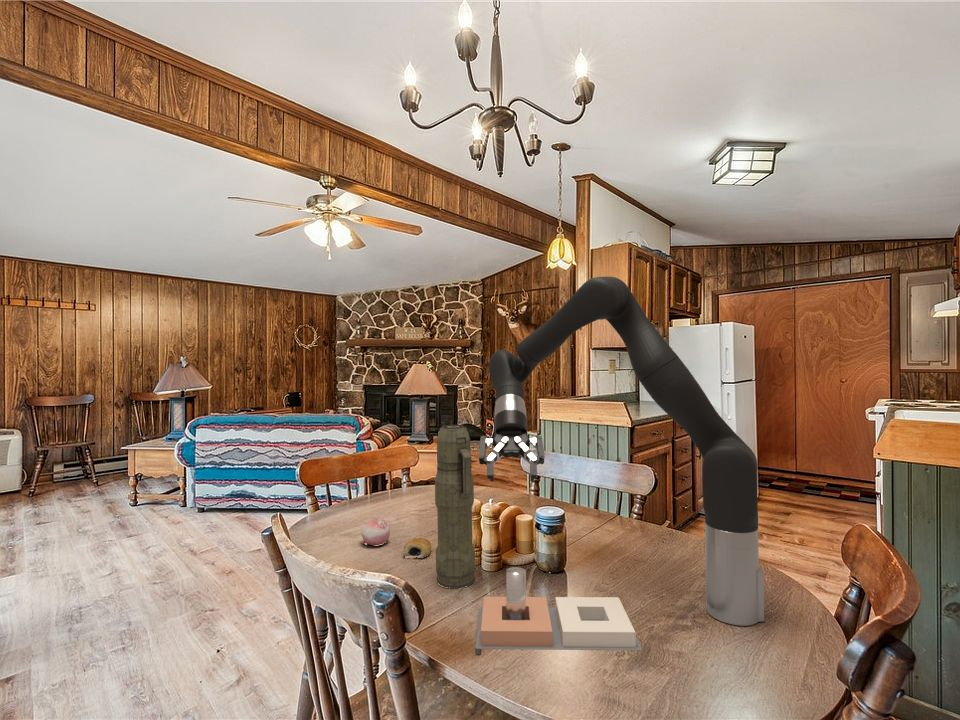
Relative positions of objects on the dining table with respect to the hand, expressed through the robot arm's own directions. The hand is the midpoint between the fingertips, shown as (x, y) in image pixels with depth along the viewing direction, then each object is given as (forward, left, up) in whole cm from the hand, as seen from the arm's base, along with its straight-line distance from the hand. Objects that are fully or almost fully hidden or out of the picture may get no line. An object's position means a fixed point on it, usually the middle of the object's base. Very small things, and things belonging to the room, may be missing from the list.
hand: (512, 479), depth 104 cm
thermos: (+13, -7, -25) cm, 29 cm away
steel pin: (0, +14, -24) cm, 27 cm away
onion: (+37, -29, -25) cm, 53 cm away
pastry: (+24, -23, -25) cm, 42 cm away
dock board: (-7, +14, -25) cm, 29 cm away
